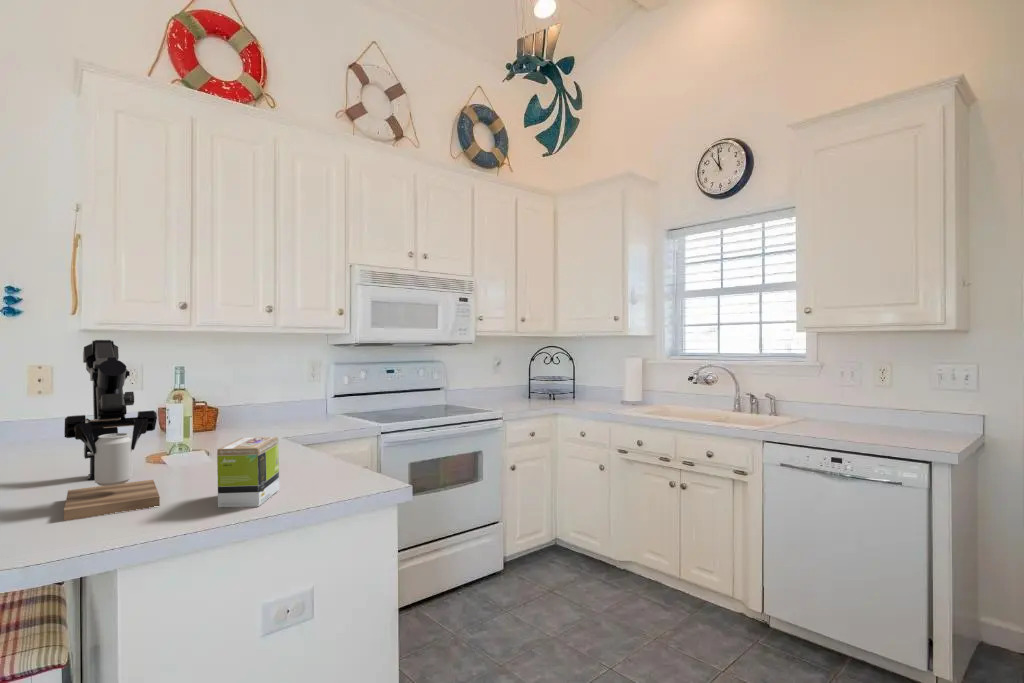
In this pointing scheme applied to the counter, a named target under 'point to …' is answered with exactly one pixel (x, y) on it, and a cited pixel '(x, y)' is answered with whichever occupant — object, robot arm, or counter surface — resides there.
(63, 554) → the counter surface
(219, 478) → the tea box
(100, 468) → the can
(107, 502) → the brown wooden slab
